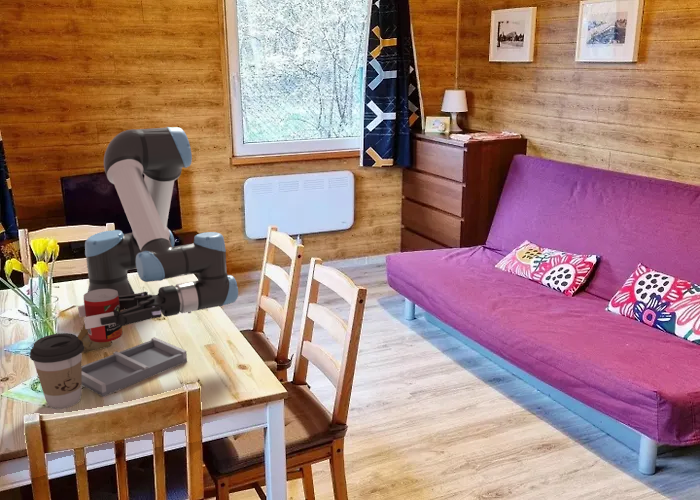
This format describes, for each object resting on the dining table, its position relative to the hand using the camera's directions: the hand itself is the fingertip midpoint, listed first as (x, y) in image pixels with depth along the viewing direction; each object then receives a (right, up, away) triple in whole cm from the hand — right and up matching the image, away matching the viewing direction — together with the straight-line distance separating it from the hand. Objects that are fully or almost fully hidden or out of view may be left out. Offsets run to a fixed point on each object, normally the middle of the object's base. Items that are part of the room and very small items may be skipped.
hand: (81, 317), depth 154 cm
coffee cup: (-3, -19, -3) cm, 20 cm away
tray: (+8, -15, +11) cm, 20 cm away
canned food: (+4, -5, +4) cm, 8 cm away
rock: (-7, -11, +24) cm, 28 cm away
